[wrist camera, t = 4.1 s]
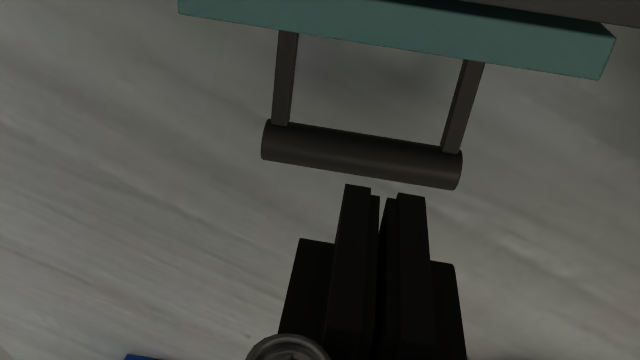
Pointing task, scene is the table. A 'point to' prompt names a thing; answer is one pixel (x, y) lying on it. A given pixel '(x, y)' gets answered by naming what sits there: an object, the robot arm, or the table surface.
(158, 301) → the table surface
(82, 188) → the table surface
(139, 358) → the blue cube box
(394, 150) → the teal drawer
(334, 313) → the robot arm
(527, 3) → the drawer cabinet
